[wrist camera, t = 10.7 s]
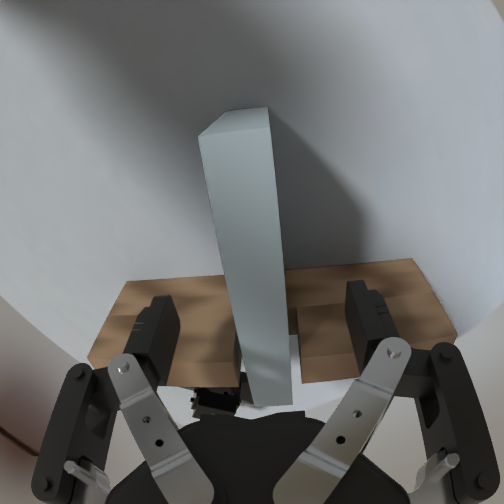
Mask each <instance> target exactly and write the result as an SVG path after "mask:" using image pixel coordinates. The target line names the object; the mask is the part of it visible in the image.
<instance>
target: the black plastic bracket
mask: <svg viewBox="0 0 504 504" xmlns="http://www.w3.org/2000/svg"><path fill="white" fill-rule="evenodd" d="M181 388H185V389H189V390H193V391H194V395H193V398H192V397H191V400H190V402H192V406H191V409H194V410H193V416H192V417H194V418H198V419H200V416H201V414H226V415H231V416H234V415H235V414H236V410H237V409H238V407H239V405H240V403H241V402H245V403H250V404H254V402H253V398H252V394H251V390H250V386H249V382H248V377H247V373H245V372H241V371H240V382H239V387H181Z"/></svg>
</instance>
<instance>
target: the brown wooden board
mask: <svg viewBox="0 0 504 504" xmlns="http://www.w3.org/2000/svg"><path fill="white" fill-rule="evenodd" d="M284 277H285V290H286V304H287V318H288V332H289V335H294V334H298V344H299V356H300V367H301V379H302V384H303V383H314V382H324V381H333V380H342V379H349V378H357V377H360V374H359V369H358V365H357V361H356V357H355V353H354V349H353V345H352V341H351V337H350V334H349V330H348V326H347V322H346V318H345V296H346V284H347V281H352V280H361V279H363V280H364V281H365V284H366V286H367V289H368V290H373V289H376V290H377V291H378V292H379V293H380V294H381V295H382V296H383V298H384V300H385V302H386V304H387V307H388V309H389V313H390V314H391V316H392V319H393V321H394V324H395V326H396V329H397V331H398V334H399V336H400V338H401V339H403V340H405V341H406V342H407V343H408V344H409V345H410V347H412V348H415V349H422V350H431V349H432V347H433V346H434V345H435V344H437V343H440V342H448V343H451V344H454V341H455V339H456V337H457V332H456V330H455V328H454V327H453V325H452V323H451V321H450V319H449V318H448V316H447V314H446V312H445V311H444V309H443V307H442V305H441V304H440V302H439V300H438V299H437V297H436V295H435V294H434V292H433V290H432V289H431V287H430V285H429V284H428V282H427V280H426V279H425V277H424V276H423V274H422V273H421V271H420V269H419V268H418V266H417V265H416V263H415V262H414V260H413V259H412V258H411V259H401V260H392V261H382V262H371V263H361V264H350V265H339V266H328V267H317V268H306V269H294V270H284ZM158 295H170V296H171V297H172V299H173V302H174V305H175V308H176V310H177V313H178V316H179V319H180V325H181V328H180V334H179V337H178V341H177V345H176V349H175V353H174V357H173V361H172V365H171V369H170V373H169V377H168V381H167V385H166V386H177V387H239V382H240V369H241V357H242V352H241V347H240V343H239V339H238V334H237V330H236V325H235V321H234V316H233V312H232V307H231V303H230V298H229V294H228V289H227V284H226V279H225V275H217V276H203V277H189V278H173V279H158V280H141V281H127V282H126V284H125V285H124V287H123V289H122V291H121V293H120V294H119V296H118V298H117V300H116V302H115V304H114V305H113V307H112V309H111V311H110V313H109V315H108V317H107V319H106V321H105V322H104V324H103V326H102V328H101V330H100V332H99V334H98V336H97V338H96V340H95V342H94V344H93V346H92V348H91V350H90V352H89V354H88V356H87V359H88V360H89V361H90V363H91V364H92V366H93V367H94V369H99V368H103V367H107V366H108V365H109V363H110V361H111V360H112V359H113V358H114V357H116V356H118V355H120V354H122V353H123V351H124V348H125V346H126V343H127V341H128V338H129V336H130V333H131V331H132V328H133V326H134V324H135V321H136V318H137V316H138V314H139V313H140V312H141V311H142V310H143V309H144V307H150V304H151V302H152V299H153V297H154V296H158Z"/></svg>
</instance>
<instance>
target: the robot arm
mask: <svg viewBox="0 0 504 504" xmlns="http://www.w3.org/2000/svg"><path fill="white" fill-rule="evenodd" d="M345 318H346V322H347V326H348V330H349V334H350V337H351V341H352V345H353V349H354V353H355V357H356V361H357V365H358V369H359V374H360V378H359V379H356V380H355V381H354V382H353V384H352V385H351V387H350V388H349V390H348V391H347V393H346V394H345V396H344V398H343V399H342V401H341V402H340V404H339V405H338V407H337V408H336V410H335V411H334V413H333V414H332V415H331V417H330V418H329V420H328V421H327V423H324V422H322V421H319V420H317V419H312V418H307V417H305V411H294V412H280V413H275V414H272V415H268V416H265V417H261V418H257V419H252V420H250V419H245V418H240V417H235V416H231V415H226V414H201V416H200V421H197V422H194V423H191V424H189V425H186V426H184V427H183V428H181V429H179V428H178V426H177V425H176V423H175V422H174V420H173V419H172V417H171V416H170V414H169V412H168V411H167V409H166V407H165V406H164V404H163V402H162V401H161V399H160V397H159V396H158V394H157V392H156V391H157V387H158V386H166V385H167V381H168V377H169V373H170V369H171V365H172V361H173V357H174V353H175V349H176V345H177V341H178V337H179V334H180V328H181V325H180V319H179V316H178V313H177V310H176V308H175V305H174V302H173V299H172V297H171V296H170V295H158V296H154V297H153V299H152V302H151V304H150V307H144V309H143V310H142V311H141V312H140V313H139V314H138V316H137V318H136V321H135V324H134V326H133V328H132V331H131V333H130V336H129V338H128V341H127V343H126V346H125V348H124V351H123V353H122V354H120V355H118V356H116V357H114V358H113V359H112V360H111V361H110V363H109V365H108V366H107V367H103V368H99V369H95V370H92V368H91V367H90V366H89V365H88V364H86V363H79V364H76V365H74V366H73V367H72V368H71V369H70V370H69V371H68V373H67V375H66V378H65V380H64V383H63V385H62V388H61V390H60V394H59V396H58V399H57V401H56V404H55V407H54V410H53V412H52V415H51V418H50V421H49V424H48V427H47V430H46V433H45V436H44V439H43V442H42V446H41V449H40V452H39V456H38V459H37V463H36V466H35V470H34V474H33V478H32V482H31V488H32V492H33V494H34V495H35V497H36V498H37V499H39V500H41V501H43V502H45V503H47V504H479V503H480V502H482V501H484V500H486V499H488V498H489V497H491V496H492V495H493V494H494V493H495V492H496V490H497V489H498V487H499V484H500V474H499V469H498V465H497V461H496V457H495V452H494V449H493V445H492V441H491V438H490V434H489V431H488V427H487V424H486V421H485V418H484V414H483V411H482V408H481V405H480V403H479V399H478V397H477V394H476V391H475V388H474V386H473V383H472V380H471V378H470V375H469V372H468V370H467V367H466V365H465V362H464V360H463V357H462V355H461V352H460V351H459V349H458V348H457V347H456V346H455V345H453V344H451V343H448V342H440V343H437V344H435V345H434V346H433V347H432V349H431V350H422V349H415V348H412V347H410V345H409V344H408V343H407V342H406V341H405V340H403V339H401V338H400V336H399V334H398V331H397V329H396V326H395V324H394V321H393V319H392V316H391V314H390V313H389V309H388V307H387V304H386V302H385V300H384V298H383V296H382V295H381V294H380V293H379V292H378V291H377V290H376V289H373V290H368V289H367V286H366V284H365V281H364V280H363V279H361V280H352V281H347V284H346V296H345ZM394 396H400V397H411V398H414V400H415V404H416V408H417V412H418V417H419V421H420V426H421V431H422V436H423V440H424V445H425V451H426V456H427V462H426V463H424V465H422V466H421V467H420V469H419V470H418V472H417V475H416V484H415V488H414V490H413V491H412V493H409V494H407V492H406V491H405V489H404V488H403V487H402V486H401V485H400V484H398V483H397V482H396V481H395V480H393V479H392V478H391V477H389V476H388V475H387V474H386V473H385V472H383V471H382V470H381V469H380V468H378V466H376V465H375V464H374V463H373V462H372V461H370V460H369V459H368V458H367V457H365V455H363V453H364V451H365V449H366V448H367V446H368V444H369V443H370V441H371V439H372V437H373V435H374V434H375V432H376V430H377V428H378V426H379V424H380V422H381V421H382V419H383V417H384V415H385V413H386V411H387V409H388V407H389V405H390V404H391V401H392V400H393V398H394ZM118 410H121V411H122V413H123V415H124V418H125V420H126V422H127V424H128V426H129V428H130V430H131V433H132V435H133V437H134V439H135V441H136V443H137V445H138V447H139V449H140V450H141V452H142V454H143V456H144V458H145V461H144V462H143V463H142V464H141V465H139V466H138V467H137V468H136V469H135V470H134V471H133V472H131V473H130V474H129V475H128V476H127V477H126V478H124V479H123V480H122V481H121V482H120V483H119V484H117V485H116V486H115V487H114V488H113V489H112V490H111V491H110V482H109V478H108V476H107V475H106V473H105V472H104V469H105V464H106V459H107V453H108V449H109V445H110V440H111V436H112V431H113V427H114V423H115V418H116V414H117V411H118Z"/></svg>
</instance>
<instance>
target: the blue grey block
mask: <svg viewBox="0 0 504 504" xmlns="http://www.w3.org/2000/svg"><path fill="white" fill-rule="evenodd" d="M198 141H199V146H200V152H201V157H202V163H203V168H204V174H205V179H206V185H207V190H208V195H209V200H210V205H211V211H212V216H213V221H214V226H215V231H216V236H217V241H218V246H219V251H220V256H221V260H222V265H223V270H224V275H225V279H226V284H227V289H228V294H229V298H230V303H231V307H232V312H233V316H234V321H235V325H236V330H237V334H238V339H239V343H240V347H241V352H242V356H243V360H244V365H245V369H246V373H247V377H248V382H249V386H250V390H251V394H252V398H253V402H254V406H255V407H258V406H279V405H293V401H292V381H291V364H290V347H289V332H288V318H287V304H286V290H285V277H284V265H283V253H282V242H281V230H280V219H279V209H278V199H277V188H276V179H275V169H274V159H273V150H272V141H271V132H270V124H269V115H268V107H258V108H249V109H241V110H233V111H226V112H225V113H223V114H222V115H221V116H220V117H219V118H218V119H217V120H215V121H214V122H213V123H212V124H211V125H210V126H209V127H208V128H207V129H206V130H204V131H203V132H202V133H201V134H200V135H199V136H198Z"/></svg>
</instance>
